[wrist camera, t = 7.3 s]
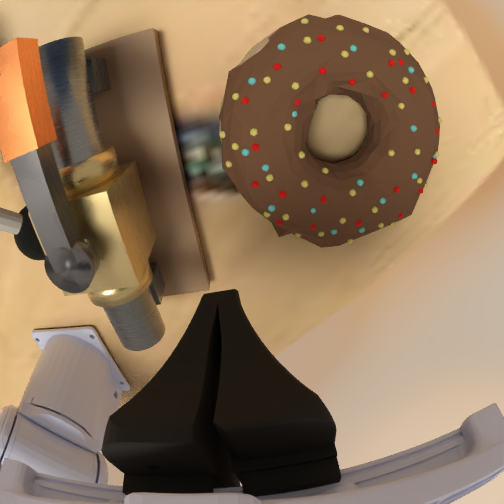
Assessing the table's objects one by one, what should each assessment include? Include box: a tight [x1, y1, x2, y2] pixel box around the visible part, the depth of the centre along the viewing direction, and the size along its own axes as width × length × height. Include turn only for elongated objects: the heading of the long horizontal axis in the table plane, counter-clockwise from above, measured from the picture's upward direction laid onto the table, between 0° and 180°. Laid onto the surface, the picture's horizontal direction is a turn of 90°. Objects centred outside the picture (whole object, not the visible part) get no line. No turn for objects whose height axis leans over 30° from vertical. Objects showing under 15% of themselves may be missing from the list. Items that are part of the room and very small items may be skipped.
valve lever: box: [0, 38, 100, 293], centre depth 11 cm, size 11×2×2 cm, turn 8°
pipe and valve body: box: [28, 37, 165, 351], centre depth 16 cm, size 18×5×6 cm, turn 8°
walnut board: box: [84, 28, 210, 296], centre depth 19 cm, size 18×9×1 cm, turn 8°
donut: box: [219, 15, 442, 247], centre depth 17 cm, size 14×14×5 cm
